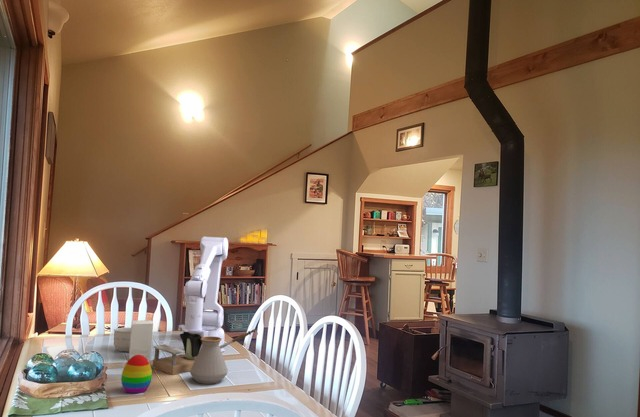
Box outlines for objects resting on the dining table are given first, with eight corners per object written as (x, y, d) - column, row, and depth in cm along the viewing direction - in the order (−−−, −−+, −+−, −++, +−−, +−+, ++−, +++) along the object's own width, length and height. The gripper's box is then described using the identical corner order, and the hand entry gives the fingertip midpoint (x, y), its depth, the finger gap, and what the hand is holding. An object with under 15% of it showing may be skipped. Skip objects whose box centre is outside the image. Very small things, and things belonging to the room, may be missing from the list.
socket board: (197, 358, 177) (198, 339, 177) (218, 365, 169) (219, 345, 169) (152, 367, 163) (153, 346, 163) (172, 375, 155) (174, 352, 155)
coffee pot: (195, 387, 144) (199, 336, 145) (185, 377, 154) (188, 329, 155) (262, 380, 155) (264, 332, 156) (248, 370, 165) (250, 325, 166)
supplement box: (150, 359, 172) (153, 323, 173) (128, 360, 170) (131, 323, 170) (150, 354, 179) (153, 319, 180) (129, 355, 177) (131, 320, 177)
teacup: (106, 351, 181) (107, 329, 181) (127, 345, 191) (129, 324, 191) (135, 356, 176) (136, 333, 176) (156, 350, 186) (157, 329, 186)
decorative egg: (115, 394, 135) (118, 357, 135) (127, 385, 143) (129, 350, 144) (145, 395, 135) (147, 359, 135) (154, 386, 143) (157, 352, 144)
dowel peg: (191, 360, 170) (193, 337, 170) (197, 362, 167) (199, 339, 168) (183, 362, 167) (184, 338, 167) (189, 364, 165) (190, 340, 165)
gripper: (171, 313, 170) (169, 352, 169) (196, 319, 161) (194, 361, 160) (189, 311, 175) (186, 350, 175) (214, 317, 166) (211, 358, 165)
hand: (191, 355), depth 168 cm, fingers closed on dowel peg, 3 cm apart
